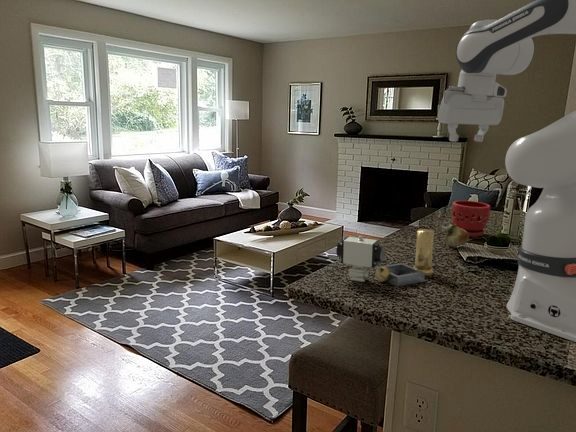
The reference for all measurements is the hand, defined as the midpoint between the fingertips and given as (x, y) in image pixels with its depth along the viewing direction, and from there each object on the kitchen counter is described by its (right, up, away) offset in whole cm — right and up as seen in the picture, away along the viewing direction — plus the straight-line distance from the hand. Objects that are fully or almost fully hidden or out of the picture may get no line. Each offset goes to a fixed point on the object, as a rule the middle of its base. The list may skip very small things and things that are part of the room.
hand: (465, 141), depth 119 cm
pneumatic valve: (-29, -37, -1) cm, 47 cm away
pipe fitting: (-10, -36, +4) cm, 38 cm away
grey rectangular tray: (-18, -37, -1) cm, 41 cm away
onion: (+9, -31, +31) cm, 44 cm away
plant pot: (+20, -27, +48) cm, 59 cm away
